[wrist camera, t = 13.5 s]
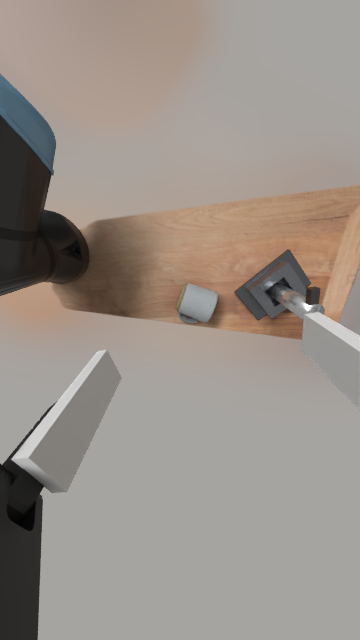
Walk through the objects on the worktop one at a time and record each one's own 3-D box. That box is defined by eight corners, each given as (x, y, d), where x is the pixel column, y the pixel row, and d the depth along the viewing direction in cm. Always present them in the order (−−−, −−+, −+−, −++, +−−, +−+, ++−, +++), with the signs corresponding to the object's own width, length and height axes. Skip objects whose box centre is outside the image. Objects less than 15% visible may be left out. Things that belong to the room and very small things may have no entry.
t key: (278, 302, 42) (321, 333, 28) (265, 304, 42) (300, 336, 29) (279, 269, 38) (327, 287, 25) (264, 272, 39) (304, 291, 25)
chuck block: (234, 291, 42) (239, 297, 38) (287, 249, 37) (299, 251, 33) (257, 318, 45) (263, 326, 41) (309, 282, 40) (321, 287, 36)
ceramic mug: (184, 278, 41) (183, 287, 34) (216, 288, 42) (221, 299, 35) (172, 315, 46) (169, 330, 39) (201, 324, 47) (202, 339, 40)
